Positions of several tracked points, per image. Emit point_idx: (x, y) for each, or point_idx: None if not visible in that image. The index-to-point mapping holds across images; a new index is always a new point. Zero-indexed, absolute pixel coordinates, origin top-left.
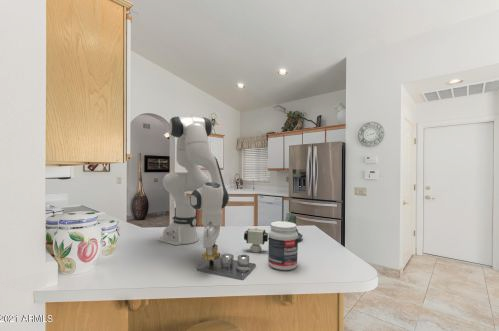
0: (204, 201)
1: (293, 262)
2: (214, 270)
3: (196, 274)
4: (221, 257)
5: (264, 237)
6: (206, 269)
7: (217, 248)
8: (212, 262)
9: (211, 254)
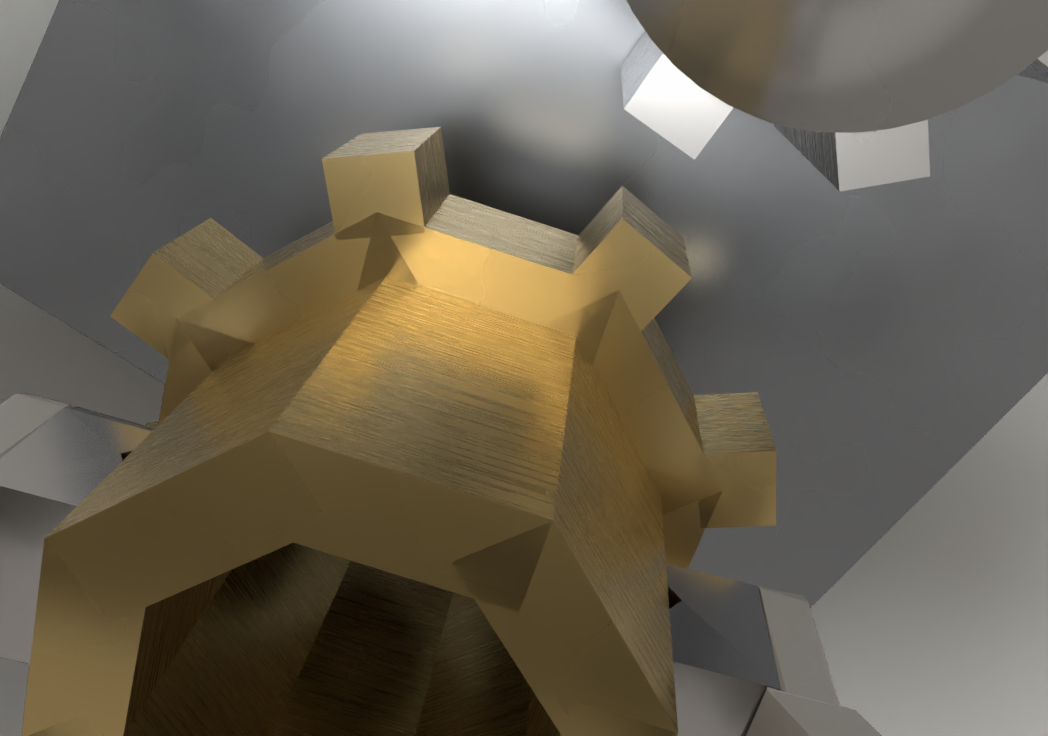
0: None
1: None
2: (1029, 334)
3: (900, 680)
4: (925, 160)
5: None
6: (885, 523)
7: (345, 363)
8: None
9: (796, 608)
